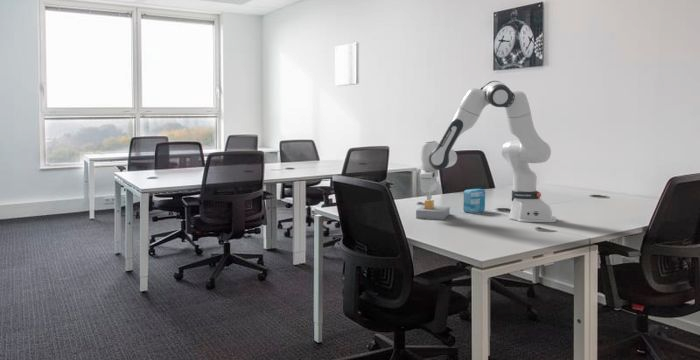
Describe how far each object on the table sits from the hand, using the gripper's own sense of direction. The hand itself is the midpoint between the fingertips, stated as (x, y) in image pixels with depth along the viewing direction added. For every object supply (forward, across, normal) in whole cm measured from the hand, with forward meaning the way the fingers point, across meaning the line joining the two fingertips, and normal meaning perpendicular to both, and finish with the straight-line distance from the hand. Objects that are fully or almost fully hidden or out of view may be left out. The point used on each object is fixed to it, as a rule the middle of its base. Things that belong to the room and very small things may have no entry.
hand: (429, 199), depth 270 cm
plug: (+8, 0, 0) cm, 9 cm away
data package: (+9, -20, +20) cm, 30 cm away
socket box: (+8, 0, +2) cm, 9 cm away
